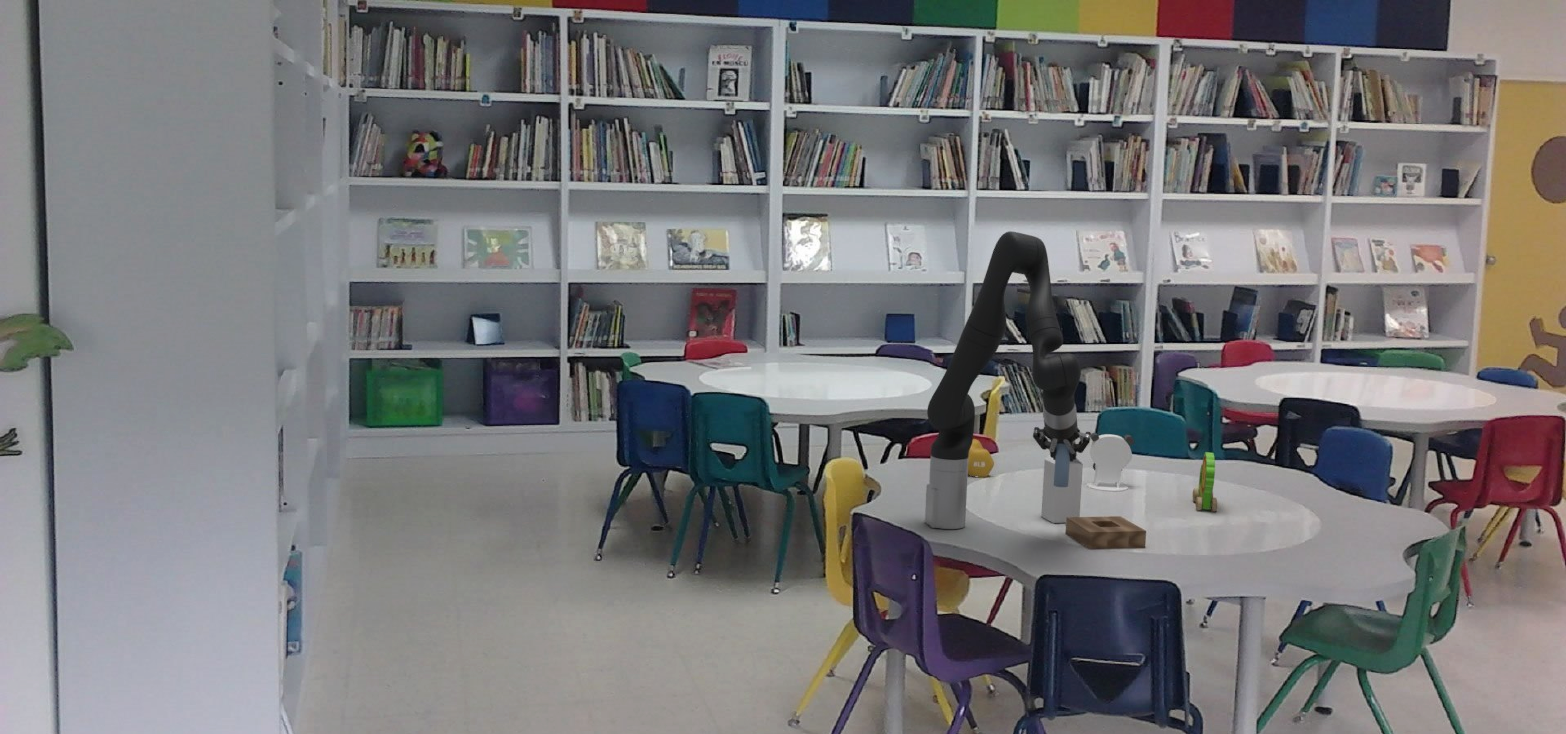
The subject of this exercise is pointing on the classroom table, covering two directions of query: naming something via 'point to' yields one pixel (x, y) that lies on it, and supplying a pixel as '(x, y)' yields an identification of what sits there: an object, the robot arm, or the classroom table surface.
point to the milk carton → (1061, 493)
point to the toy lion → (1206, 485)
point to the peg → (1061, 466)
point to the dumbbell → (979, 460)
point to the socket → (1105, 532)
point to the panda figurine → (1109, 461)
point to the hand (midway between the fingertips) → (1063, 457)
